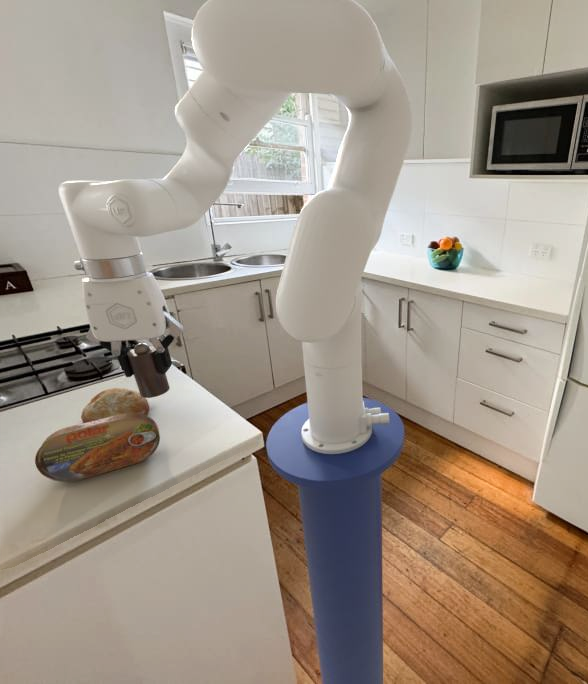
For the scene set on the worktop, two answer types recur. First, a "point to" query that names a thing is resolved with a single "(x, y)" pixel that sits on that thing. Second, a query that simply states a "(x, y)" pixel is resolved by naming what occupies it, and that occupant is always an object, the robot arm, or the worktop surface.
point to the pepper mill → (147, 371)
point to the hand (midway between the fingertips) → (149, 371)
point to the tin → (97, 447)
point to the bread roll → (114, 404)
